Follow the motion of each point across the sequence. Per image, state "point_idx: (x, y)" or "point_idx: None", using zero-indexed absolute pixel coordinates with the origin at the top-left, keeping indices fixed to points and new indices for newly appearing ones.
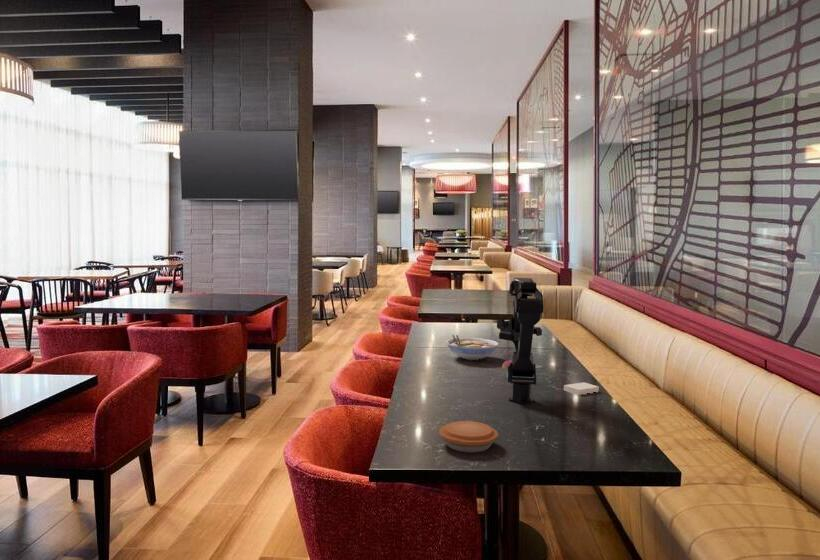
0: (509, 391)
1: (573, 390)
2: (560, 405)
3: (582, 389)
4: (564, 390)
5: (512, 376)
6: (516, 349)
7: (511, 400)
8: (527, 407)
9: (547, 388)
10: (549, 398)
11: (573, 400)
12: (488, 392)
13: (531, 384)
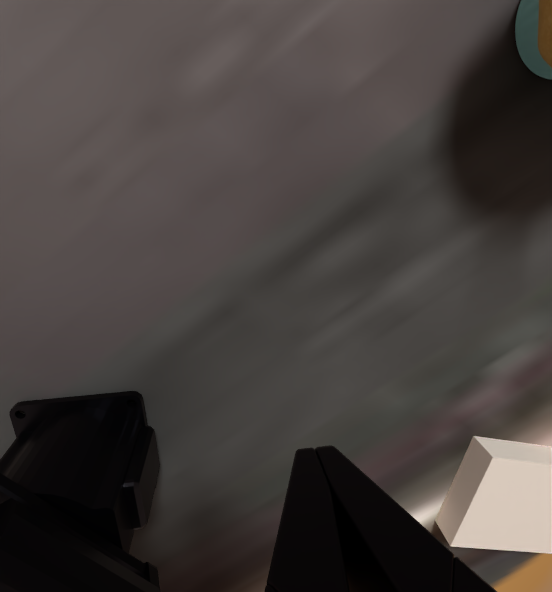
0: (198, 267)
1: (457, 507)
2: (206, 578)
3: (475, 547)
4: (472, 441)
5: (530, 44)
6: (270, 575)
7: (17, 426)
8: None
9: (451, 364)
10: (269, 488)
11: None
12: (33, 186)
13: (127, 549)
